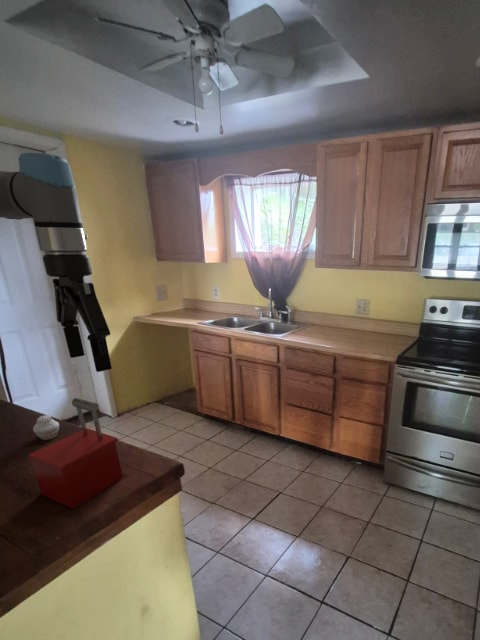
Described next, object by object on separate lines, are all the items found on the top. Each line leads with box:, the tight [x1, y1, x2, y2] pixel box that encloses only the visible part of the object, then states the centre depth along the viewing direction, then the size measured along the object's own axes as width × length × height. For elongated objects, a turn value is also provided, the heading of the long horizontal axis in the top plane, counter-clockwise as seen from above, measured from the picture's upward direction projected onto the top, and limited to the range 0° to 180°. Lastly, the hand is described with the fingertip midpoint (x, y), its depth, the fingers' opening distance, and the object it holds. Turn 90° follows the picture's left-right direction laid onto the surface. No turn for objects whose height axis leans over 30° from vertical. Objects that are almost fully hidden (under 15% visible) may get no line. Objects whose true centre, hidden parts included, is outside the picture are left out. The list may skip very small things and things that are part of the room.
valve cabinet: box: [29, 442, 124, 509], centre depth 82 cm, size 12×10×10 cm
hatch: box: [28, 397, 119, 470], centre depth 78 cm, size 13×10×10 cm
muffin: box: [32, 414, 60, 441], centre depth 103 cm, size 6×6×7 cm
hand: (90, 363), depth 77 cm, fingers open, 13 cm apart
